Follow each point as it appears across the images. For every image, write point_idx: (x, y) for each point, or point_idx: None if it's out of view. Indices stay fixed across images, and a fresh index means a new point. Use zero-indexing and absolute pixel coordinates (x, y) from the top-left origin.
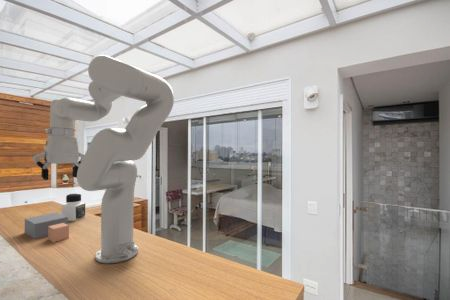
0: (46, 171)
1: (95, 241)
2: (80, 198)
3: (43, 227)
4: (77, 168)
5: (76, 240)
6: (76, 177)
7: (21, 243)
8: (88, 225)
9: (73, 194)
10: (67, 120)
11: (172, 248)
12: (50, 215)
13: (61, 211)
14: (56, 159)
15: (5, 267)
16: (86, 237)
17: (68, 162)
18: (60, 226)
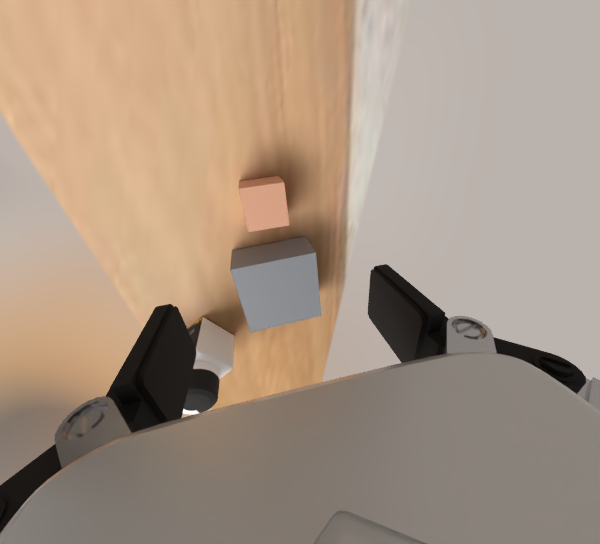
0: (426, 298)
1: (166, 66)
2: None
3: (293, 249)
4: (123, 374)
5: (223, 139)
6: (168, 306)
7: (331, 226)
8: (173, 260)
9: (194, 400)
10: None
11: None
12: (268, 312)
13: (233, 355)
14: (477, 420)
15: (392, 72)
16: (191, 143)
17: (238, 407)
18: (262, 195)
